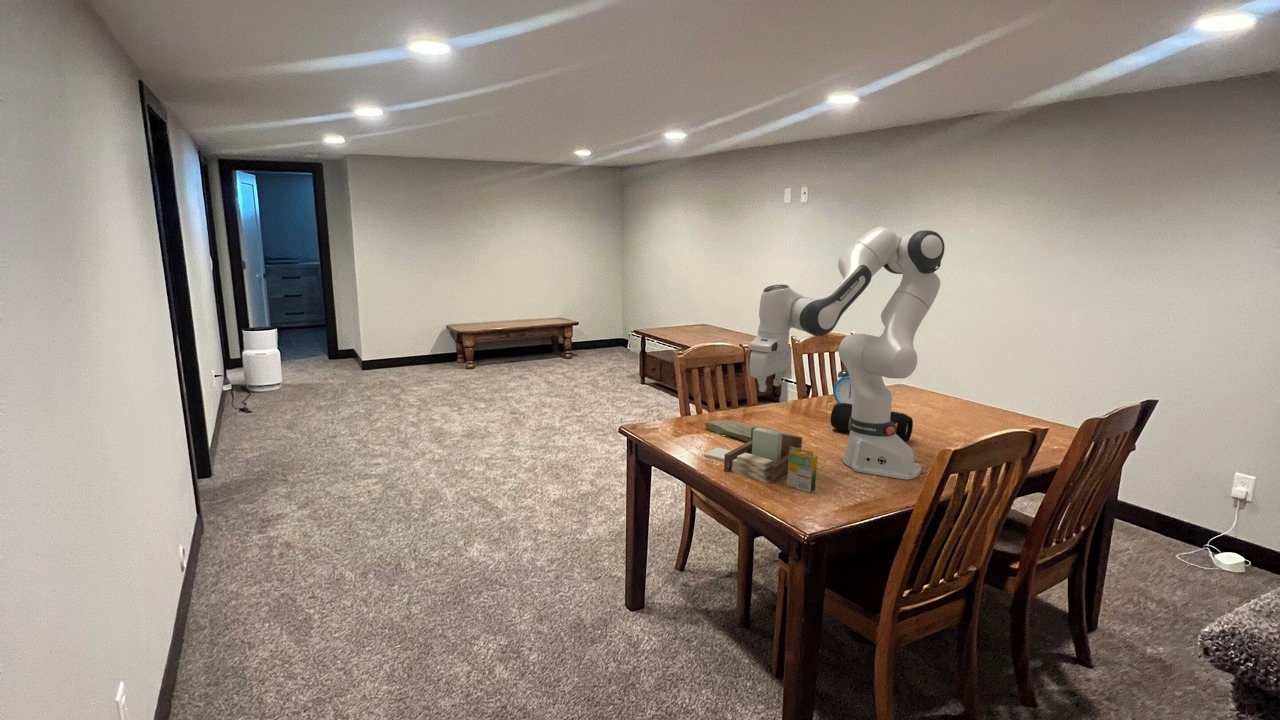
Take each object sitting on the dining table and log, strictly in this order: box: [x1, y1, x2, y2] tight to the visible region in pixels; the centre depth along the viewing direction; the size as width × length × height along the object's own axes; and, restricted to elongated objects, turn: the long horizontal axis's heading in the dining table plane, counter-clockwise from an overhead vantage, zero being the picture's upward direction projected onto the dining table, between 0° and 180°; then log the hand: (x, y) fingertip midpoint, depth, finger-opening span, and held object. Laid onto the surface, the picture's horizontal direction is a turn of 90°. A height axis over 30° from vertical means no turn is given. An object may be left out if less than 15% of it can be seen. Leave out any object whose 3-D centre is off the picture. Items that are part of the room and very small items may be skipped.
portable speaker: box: [830, 403, 914, 443], centre depth 230 cm, size 26×10×10 cm, turn 53°
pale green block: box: [752, 427, 783, 463], centre depth 199 cm, size 8×3×11 cm, turn 54°
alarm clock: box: [832, 369, 853, 404], centre depth 265 cm, size 13×6×15 cm, turn 61°
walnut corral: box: [723, 426, 803, 485], centre depth 197 cm, size 16×18×9 cm
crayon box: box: [786, 446, 818, 494], centre depth 183 cm, size 7×3×12 cm, turn 48°
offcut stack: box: [731, 453, 774, 483], centre depth 193 cm, size 12×5×5 cm, turn 47°
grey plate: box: [703, 446, 732, 462], centre depth 208 cm, size 11×8×1 cm
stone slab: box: [704, 420, 764, 443], centre depth 228 cm, size 12×4×30 cm
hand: (770, 388), depth 195 cm, fingers open, 8 cm apart
